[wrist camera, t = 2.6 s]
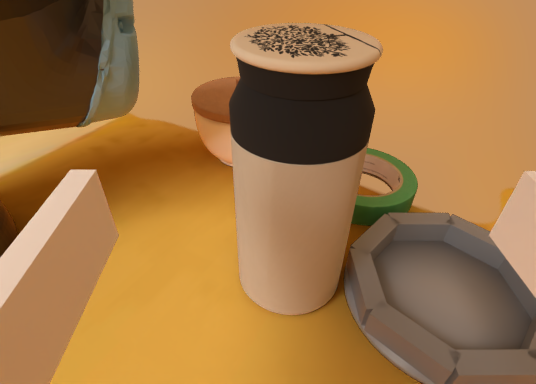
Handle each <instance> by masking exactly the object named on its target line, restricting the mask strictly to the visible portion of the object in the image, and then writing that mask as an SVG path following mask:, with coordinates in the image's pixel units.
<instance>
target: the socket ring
mask: <svg viewBox="0 0 536 384" xmlns="http://www.w3.org/2000/svg"><path fill="white" fill-rule="evenodd" d="M489 234H490V231H487V230H485V229H483V228H481V227H479V226H477V225H475V224H473V223H471V222H468V221H466V220H464V219H462V218H460V217H458V216H456V215H454V214H452V215H451V217H450V215H449V213H388V215H387V214H384V215H383V216H382V217H381V218H380V219H379V220H378V221H376V222H375V223H374V224H373V225H372V226H371V227H370V228H369V229H368V230H367V231H366V232H365V233H364V234H362V235H361V236H360V237H359V238H358V239H357V240H356V241H355V242H354V243H353V244H352V245H351V247H350V250H349V254H348V259H347V263H346V267H345V273H344V290H345V296H346V300H347V303H348V306H349V309H350V311H351V313H352V316H353V318H354V320H355V321H356V323H357V325H358V326H359V328H360V330H361V331H362V332H363V334H364V335H365V336H366V338H367V339H368V340H369V342H370V343H371V344H372V345H373V346H374V347H375V348H376V349H377V350H378V351H379V352H380V353H381V354H382V355H383V356H384V357H385V358H386V359H387V360H389V361H390V362H391V363H392V364H393V365H394V366H396V367H397V368H399V369H400V370H401V371H403V372H404V373H406V374H407V375H409V376H410V377H412V378H414V379H416V380H417V381H419V382H421V383H423V384H536V298H535V297H534V295H533V294H532V292H531V291H530V290H529V288H528V287H527V286H526V284H525V283H524V282H523V280H522V279H521V278H520V276H519V275H518V274H517V272H516V271H515V270H514V268H513V267H512V266H511V264H510V263H509V262H508V260H507V259H506V258H505V256H504V255H503V254H502V252H501V251H500V250H499V248H498V247H497V246H496V244H495V243H494V241H493V240H492V239H491V237H490V236H489Z"/></svg>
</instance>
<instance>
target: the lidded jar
mask: <svg viewBox="0 0 536 384" xmlns="http://www.w3.org/2000/svg"><path fill="white" fill-rule="evenodd" d="M239 80H240V77H227V78H221V79H217V80H212V81H209V82H207V83H205V84H202V85H200V86H199V87H197V88H196V89H195V90H194V92H193V94H192V96H191V99H192V106H193V109H194V114H195V121H196V125H197V129H198V132H199V135H200V137H201V140H202V142H203V143H204V145H205V146H206V148H207V149H208V150H209V151H210V152H211V153H212V154H213V155H214V156H216V157H217V158H219V160H220V161H221V162H222V163H224V164H226V165H228V166H232V167H233V163H232V147H231V130H230V115H229V101H230V98H231V96H232V94H233V92H234V90H235V88H236V86H237V84H238V82H239Z"/></svg>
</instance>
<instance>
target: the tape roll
mask: <svg viewBox="0 0 536 384" xmlns="http://www.w3.org/2000/svg"><path fill="white" fill-rule="evenodd" d="M362 173H363V174H367V175H370V176H372V177H375V178H377V179H379V180H381V181H383V182H384V183H385V184H387V185H388V186H389V187H390V189H391V190H392V192H390V193H387V194H383V195H378V196H371V195H360V194H357V198H356V203H355V207H354V212H353V217H352V221H351V223H352V224H357V225H366V226H372V225H373V224H374V223H375V222H376V221H378V220H379V219H380V218H381V217H382V216H383V215H384V214H387V215H388V213H407V212H408V211H409V209H410V207H411V205H412V202H413V199H414V196H415V194H416V191H417V187H418V183H417V179H416V176H415V174H414V173H413V171H412V170H411V169H410V168H409V167H408V166H407V165H406V164H405V163H403V162H402V161H400V160H398V159H397V158H395V157H393V156H391V155H389V154H386V153H384V152H381V151H378V150H374V149H369V148H367V151H366V156H365V161H364V165H363V170H362Z"/></svg>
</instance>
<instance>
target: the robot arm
mask: <svg viewBox="0 0 536 384" xmlns="http://www.w3.org/2000/svg"><path fill="white" fill-rule="evenodd" d="M138 91H139V57H138V45H137V36H136V31H135V28H134V14H133V0H0V136H6V135H14V134H22V133H30V132H38V131H46V130H53V129H61V128H69V127H85V126H87V125H89V124H90V123H92V122H97V121H102V120H107V119H113V118H118V117H121V116H124V115H126V114H127V113H129V112H130V111H131V109H132V108H133V107H134V105H135V103H136V101H137V98H138ZM118 236H119V235H118V232H117V229H116V226H115V223H114V220H113V217H112V214H111V211H110V208H109V205H108V203H107V200H106V197H105V194H104V191H103V188H102V185H101V182H100V179H99V176H98V173H97V170H70V171H69V172H68V173H67V175H66V176H65V177H64V178H63V180H62V181H61V182H60V183H59V185H58V186H57V187H56V188H55V190H54V191H53V192H52V193H51V195H50V196H49V197H48V198H47V200H46V201H45V202H44V204H43V205H42V206H41V207H40V209H39V210H38V211H37V212H36V214H35V215H34V216H33V217H32V219H31V220H30V221H29V222H28V224H27V225H26V226H25V227H24V229H23V230H22V231H21V232H20V234H19V235H18V236H17V229H16V225H15V223H14V221H13V219H12V217H11V216H10V214H9V212H8V211H7V209H6V207H5V206H4V204H3V203H2V202H1V201H0V384H50V382H51V380H52V377H53V375H54V373H55V371H56V369H57V367H58V365H59V362H60V360H61V358H62V356H63V354H64V352H65V350H66V347H67V345H68V343H69V341H70V339H71V337H72V335H73V332H74V330H75V328H76V326H77V324H78V322H79V320H80V317H81V315H82V313H83V311H84V309H85V307H86V305H87V302H88V300H89V298H90V296H91V294H92V292H93V290H94V287H95V285H96V283H97V281H98V279H99V277H100V275H101V273H102V270H103V268H104V266H105V264H106V262H107V260H108V258H109V255H110V253H111V251H112V249H113V247H114V245H115V243H116V240H117V238H118ZM489 236H490V237H491V239H492V240H493V241H494V243H495V244H496V246H497V247H498V248H499V250H500V251H501V252H502V254H503V255H504V256H505V258H506V259H507V260H508V262H509V263H510V264H511V266H512V267H513V268H514V270H515V271H516V272H517V274H518V275H519V276H520V278H521V279H522V280H523V282H524V283H525V284H526V286H527V287H528V288H529V290H530V291H531V292H532V294H533V295H534V297H535V298H536V171H524V173H523V175H522V176H521V178H520V180H519V182H518V184H517V185H516V187H515V189H514V191H513V193H512V194H511V196H510V198H509V200H508V202H507V203H506V205H505V207H504V209H503V211H502V212H501V214H500V216H499V218H498V220H497V221H496V223H495V225H494V227H493V229H492V231H491V232H490V234H489Z"/></svg>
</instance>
